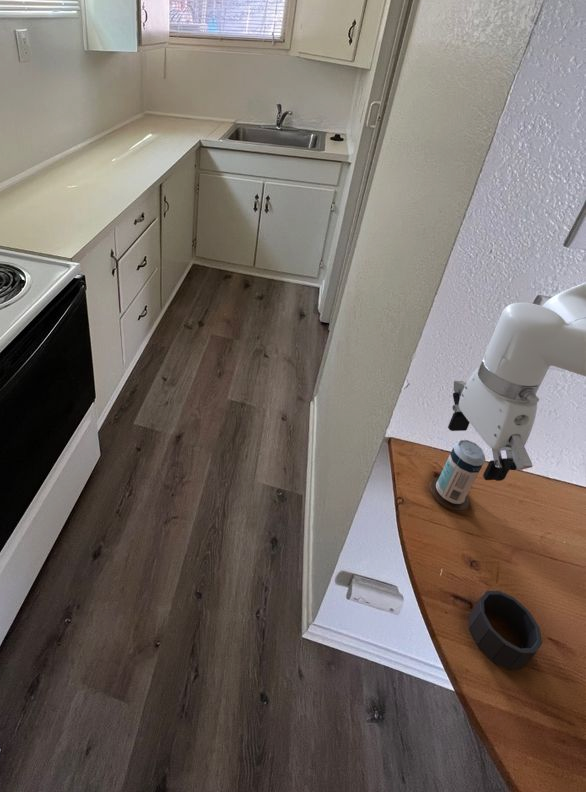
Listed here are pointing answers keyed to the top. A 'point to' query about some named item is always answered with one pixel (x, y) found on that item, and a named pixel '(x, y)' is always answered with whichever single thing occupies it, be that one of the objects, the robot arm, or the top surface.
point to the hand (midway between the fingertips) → (473, 452)
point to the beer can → (460, 471)
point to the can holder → (515, 618)
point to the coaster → (444, 502)
